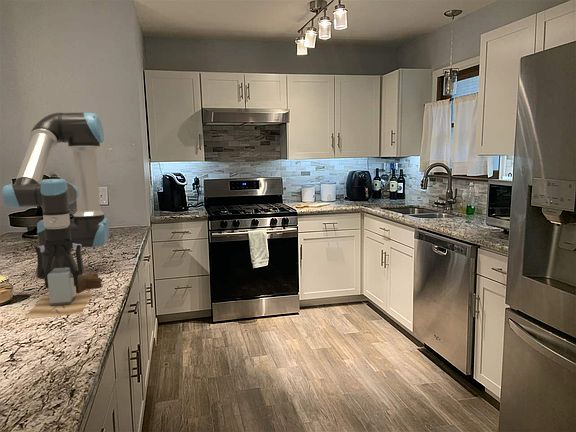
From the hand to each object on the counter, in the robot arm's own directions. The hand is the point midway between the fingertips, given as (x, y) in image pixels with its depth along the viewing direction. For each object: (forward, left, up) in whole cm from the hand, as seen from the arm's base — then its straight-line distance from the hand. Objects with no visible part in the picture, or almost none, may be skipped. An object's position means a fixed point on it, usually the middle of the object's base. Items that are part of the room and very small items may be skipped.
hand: (63, 296), depth 150 cm
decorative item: (-17, +2, -3) cm, 17 cm away
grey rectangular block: (0, 0, -1) cm, 1 cm away
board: (+3, 0, -2) cm, 4 cm away
